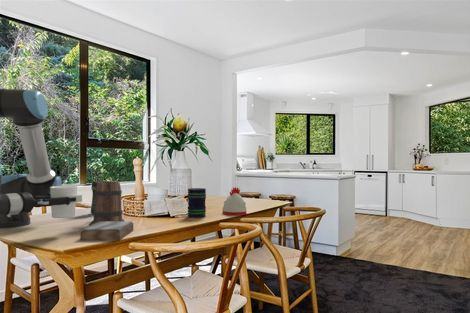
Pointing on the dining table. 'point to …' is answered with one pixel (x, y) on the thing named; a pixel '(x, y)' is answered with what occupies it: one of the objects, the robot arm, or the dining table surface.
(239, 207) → the pom-pom beanie
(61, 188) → the candle holder
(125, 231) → the dock
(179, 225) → the dining table surface
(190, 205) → the storage jar
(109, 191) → the tankard
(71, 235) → the dining table surface
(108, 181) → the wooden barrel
